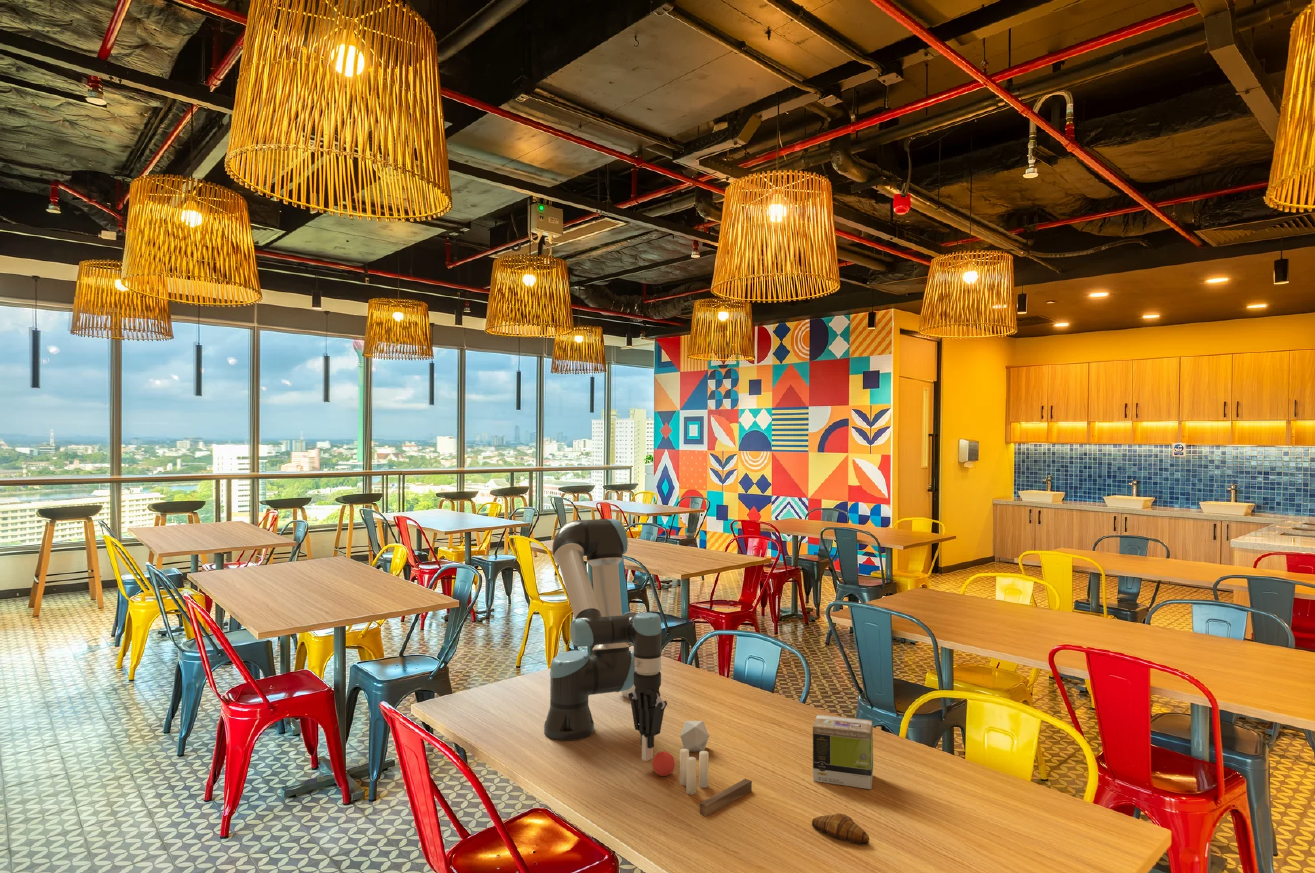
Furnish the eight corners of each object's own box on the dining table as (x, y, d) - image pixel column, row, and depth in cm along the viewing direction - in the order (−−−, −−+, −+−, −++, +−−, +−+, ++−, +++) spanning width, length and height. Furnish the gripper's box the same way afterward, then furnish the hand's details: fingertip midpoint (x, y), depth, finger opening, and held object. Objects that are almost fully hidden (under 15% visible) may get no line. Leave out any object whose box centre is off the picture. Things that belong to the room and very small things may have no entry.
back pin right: (684, 792, 186) (684, 758, 186) (690, 789, 188) (690, 755, 188) (691, 795, 184) (691, 761, 184) (697, 792, 186) (697, 758, 186)
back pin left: (697, 785, 190) (697, 752, 190) (703, 782, 191) (703, 749, 191) (704, 788, 188) (704, 755, 188) (710, 785, 190) (710, 752, 190)
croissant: (874, 839, 165) (874, 817, 165) (863, 852, 159) (863, 829, 159) (818, 820, 173) (818, 799, 173) (806, 832, 167) (806, 810, 167)
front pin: (677, 783, 191) (677, 750, 191) (683, 780, 193) (684, 747, 193) (684, 786, 189) (684, 753, 189) (690, 783, 191) (690, 750, 191)
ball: (659, 754, 192) (665, 778, 191) (676, 747, 196) (681, 771, 195) (645, 755, 196) (650, 779, 195) (661, 749, 200) (667, 772, 199)
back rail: (699, 813, 175) (700, 802, 175) (745, 788, 188) (745, 778, 188) (706, 816, 174) (706, 805, 174) (751, 790, 187) (751, 780, 187)
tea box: (873, 774, 197) (873, 719, 197) (871, 791, 188) (871, 733, 188) (816, 765, 202) (816, 712, 202) (811, 781, 192) (812, 725, 193)
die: (699, 760, 206) (716, 729, 209) (673, 743, 208) (691, 712, 211) (697, 759, 214) (714, 729, 217) (672, 742, 215) (689, 712, 218)
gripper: (621, 669, 202) (620, 755, 201) (654, 679, 193) (654, 770, 192) (640, 663, 207) (640, 748, 207) (674, 673, 198) (674, 761, 198)
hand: (647, 758), depth 199 cm, fingers closed
